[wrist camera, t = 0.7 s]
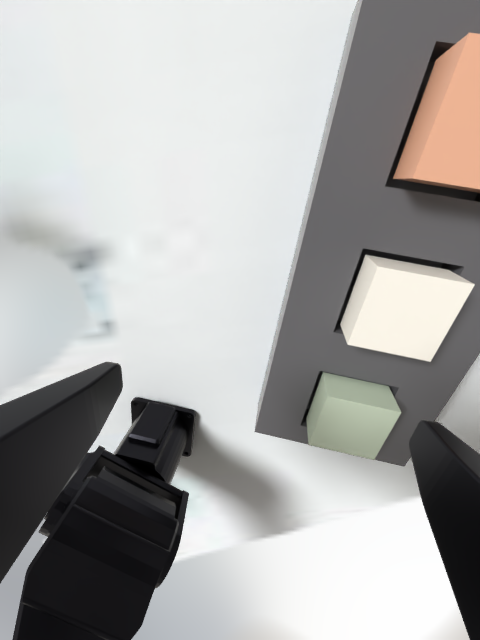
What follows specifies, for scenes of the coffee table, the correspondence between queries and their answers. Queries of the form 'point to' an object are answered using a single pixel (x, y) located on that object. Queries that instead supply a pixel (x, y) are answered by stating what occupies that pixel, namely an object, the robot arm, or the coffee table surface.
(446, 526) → the robot arm
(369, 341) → the ivory keycap
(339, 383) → the sage keycap
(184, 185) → the coffee table surface
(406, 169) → the terracotta keycap
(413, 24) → the grey flat rectangular block
